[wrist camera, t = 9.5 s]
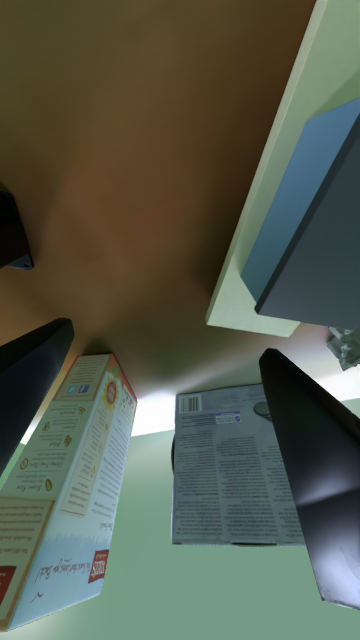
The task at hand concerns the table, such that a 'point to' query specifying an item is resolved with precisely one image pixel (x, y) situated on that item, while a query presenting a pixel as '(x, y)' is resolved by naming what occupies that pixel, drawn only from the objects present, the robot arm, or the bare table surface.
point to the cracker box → (65, 495)
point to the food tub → (313, 229)
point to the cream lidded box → (290, 150)
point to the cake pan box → (230, 473)
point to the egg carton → (346, 346)
